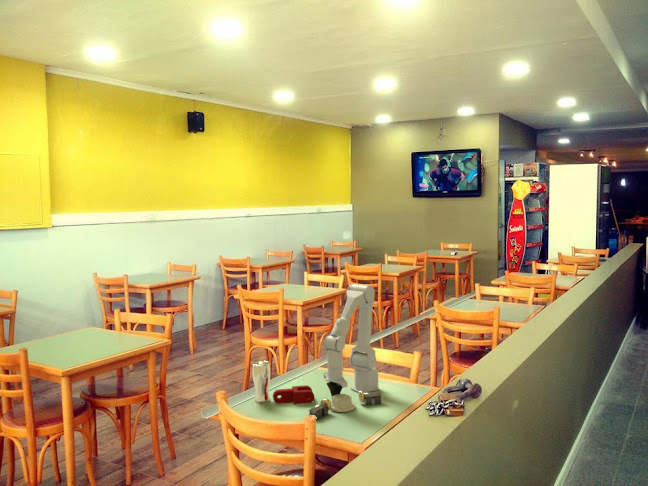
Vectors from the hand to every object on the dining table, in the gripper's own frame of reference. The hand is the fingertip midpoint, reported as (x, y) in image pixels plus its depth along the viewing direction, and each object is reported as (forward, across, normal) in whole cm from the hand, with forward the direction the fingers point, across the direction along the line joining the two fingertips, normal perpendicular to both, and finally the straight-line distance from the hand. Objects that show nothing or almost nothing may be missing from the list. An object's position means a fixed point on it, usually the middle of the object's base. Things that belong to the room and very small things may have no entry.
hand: (335, 400), depth 227 cm
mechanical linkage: (+2, -12, -12) cm, 17 cm away
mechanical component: (+1, +5, 0) cm, 5 cm away
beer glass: (+1, -20, -22) cm, 30 cm away
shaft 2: (+1, +7, +11) cm, 13 cm away
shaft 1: (+1, +7, -11) cm, 13 cm away
